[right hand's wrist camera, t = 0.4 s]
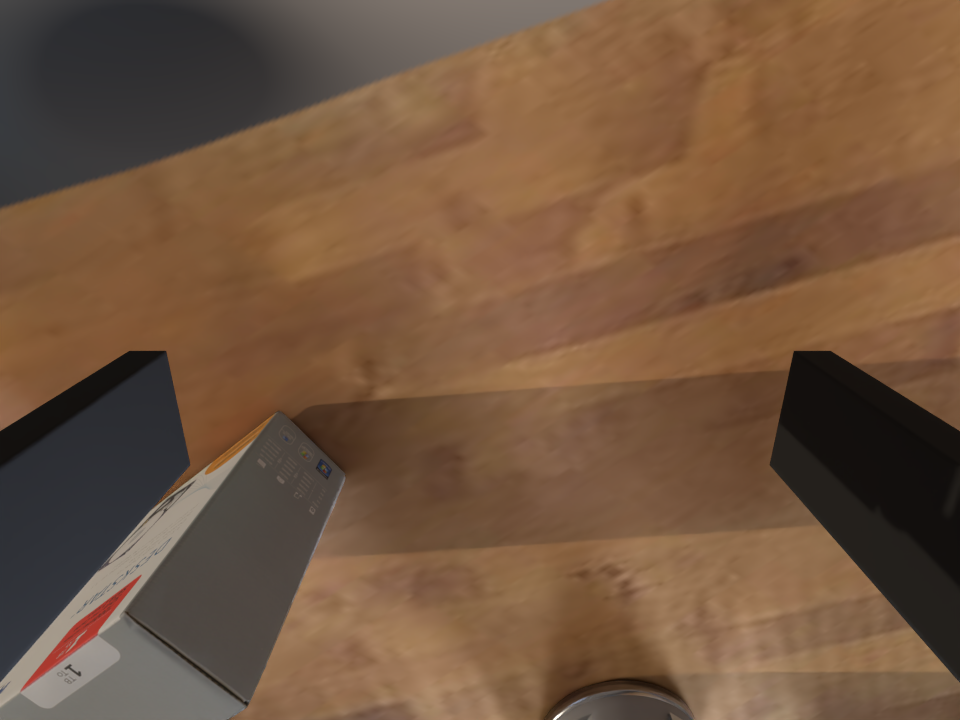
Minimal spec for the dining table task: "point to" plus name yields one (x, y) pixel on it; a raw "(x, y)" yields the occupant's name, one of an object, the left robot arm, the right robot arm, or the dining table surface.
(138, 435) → the right robot arm
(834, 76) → the dining table surface
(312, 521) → the hard drive box
